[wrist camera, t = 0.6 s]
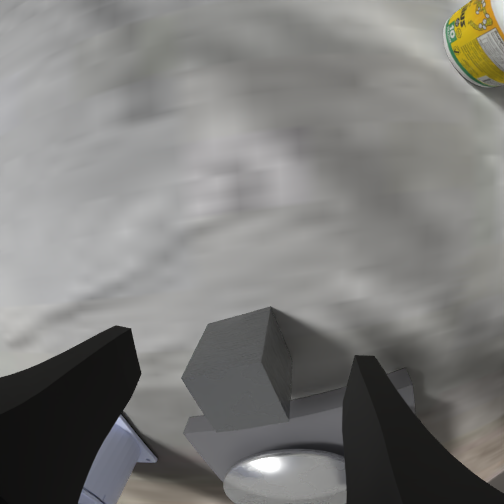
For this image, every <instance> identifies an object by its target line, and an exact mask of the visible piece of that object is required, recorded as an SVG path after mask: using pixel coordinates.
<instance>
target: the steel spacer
mask: <svg viewBox="0 0 504 504" xmlns="http://www.w3.org/2000/svg"><path fill="white" fill-rule="evenodd" d="M181 379H182V380H183V382H184V384H185V385H186V387H187V388H188V390H189V392H190V393H191V395H192V396H193V398H194V400H195V401H196V403H197V404H198V406H199V407H200V409H201V410H202V412H203V413H204V415H205V417H206V418H207V420H208V421H209V423H210V424H211V425H212V427H213V428H214V430H215V431H216V433H217V432H226V431H234V430H242V429H249V428H255V427H262V426H268V425H273V424H279V423H284V422H289V419H290V400H291V379H292V358H291V356H290V353H289V351H288V348H287V346H286V343H285V341H284V339H283V336H282V334H281V331H280V329H279V326H278V324H277V321H276V319H275V316H274V314H273V311H272V309H271V306H270V307H267V308H264V309H260V310H257V311H253V312H250V313H246V314H242V315H239V316H235V317H232V318H228V319H224V320H221V321H217V322H213V323H209V324H208V325H207V327H206V329H205V331H204V333H203V335H202V337H201V339H200V341H199V343H198V345H197V347H196V349H195V351H194V353H193V355H192V357H191V359H190V361H189V363H188V365H187V367H186V369H185V371H184V373H183V376H182V378H181Z"/></svg>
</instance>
